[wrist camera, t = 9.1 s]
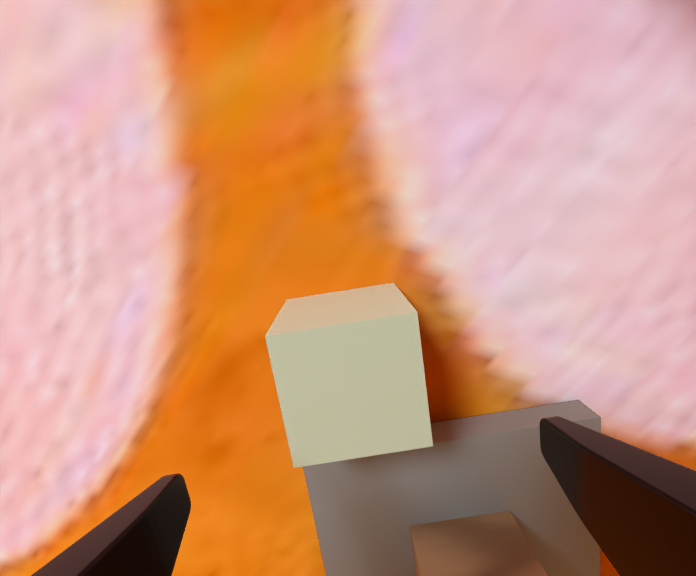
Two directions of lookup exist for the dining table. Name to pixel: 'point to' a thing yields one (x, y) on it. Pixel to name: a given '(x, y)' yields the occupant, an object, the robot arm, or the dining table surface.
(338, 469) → the base board
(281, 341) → the sage cube
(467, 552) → the walnut cube
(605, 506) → the robot arm
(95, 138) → the dining table surface
